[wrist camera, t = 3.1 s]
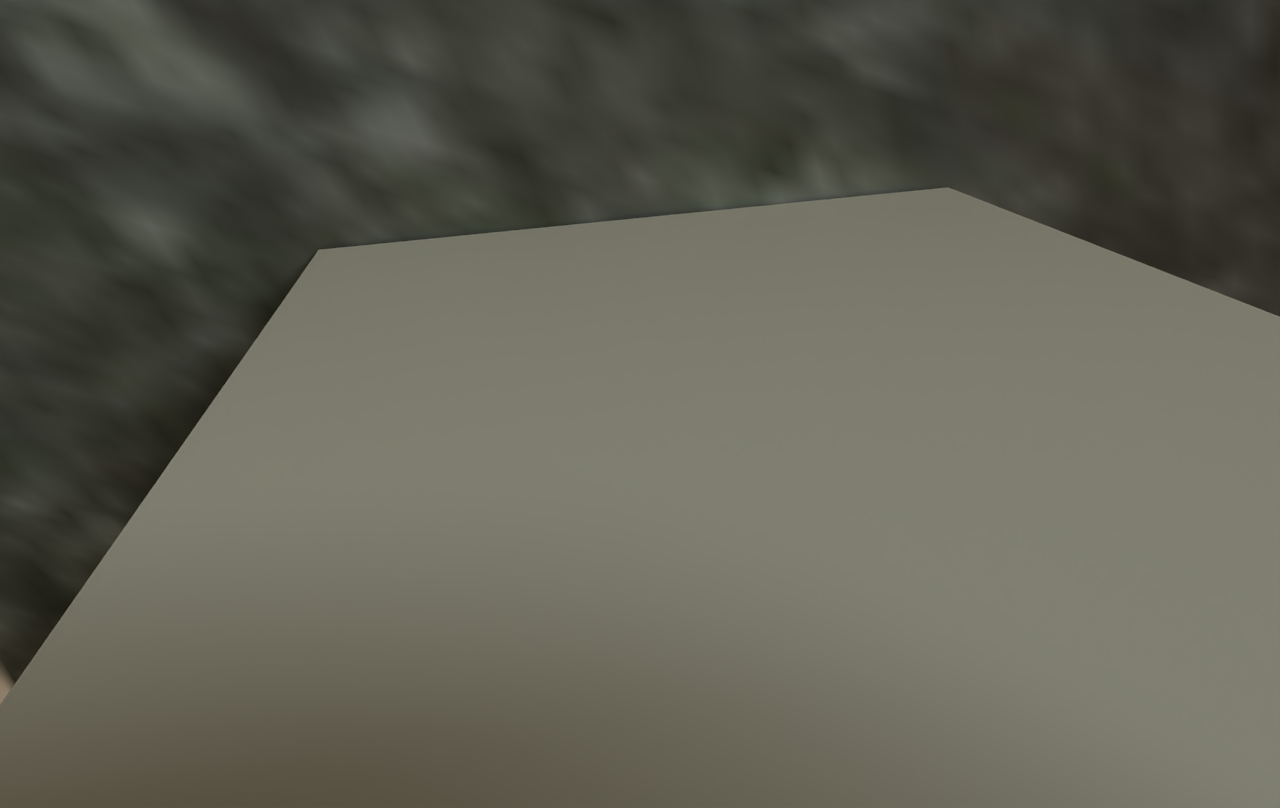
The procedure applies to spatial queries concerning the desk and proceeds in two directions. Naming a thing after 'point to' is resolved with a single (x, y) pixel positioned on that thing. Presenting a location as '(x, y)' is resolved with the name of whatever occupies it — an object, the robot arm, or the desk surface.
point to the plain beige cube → (699, 533)
